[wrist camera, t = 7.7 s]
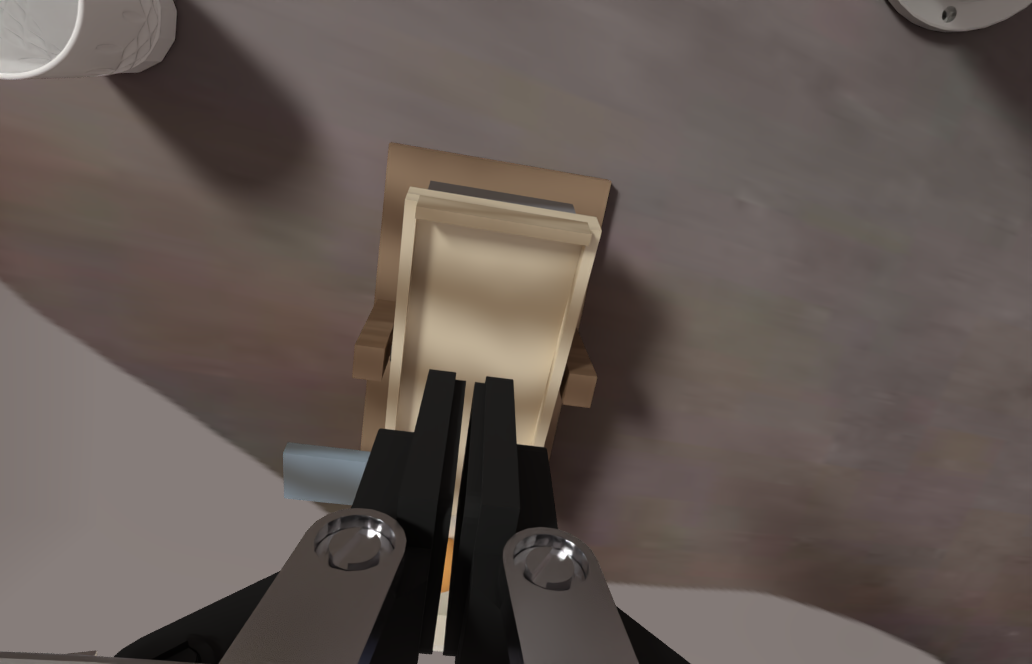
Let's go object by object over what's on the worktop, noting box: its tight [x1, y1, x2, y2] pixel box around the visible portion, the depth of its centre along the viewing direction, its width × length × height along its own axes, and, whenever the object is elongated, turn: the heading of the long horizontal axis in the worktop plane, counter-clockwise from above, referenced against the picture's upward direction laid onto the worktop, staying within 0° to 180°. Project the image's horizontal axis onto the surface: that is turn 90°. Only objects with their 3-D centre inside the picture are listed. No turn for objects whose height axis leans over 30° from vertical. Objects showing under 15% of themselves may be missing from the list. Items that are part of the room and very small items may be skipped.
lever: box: [283, 181, 602, 516], centre depth 36 cm, size 22×16×6 cm
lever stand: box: [352, 142, 611, 459], centre depth 38 cm, size 23×14×9 cm, turn 170°
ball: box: [441, 538, 454, 593], centre depth 46 cm, size 4×4×4 cm
